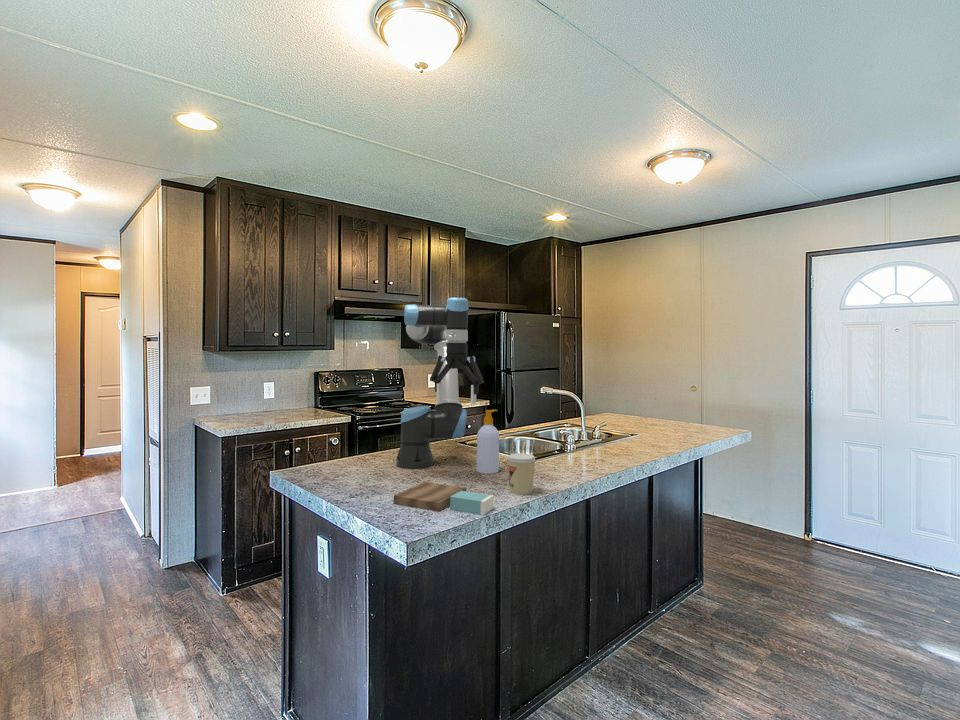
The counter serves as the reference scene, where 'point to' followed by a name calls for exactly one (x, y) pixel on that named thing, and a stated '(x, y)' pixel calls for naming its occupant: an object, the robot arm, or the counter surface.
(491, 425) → the soap bottle
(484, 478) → the counter surface
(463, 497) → the block
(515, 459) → the white-capped cylinder
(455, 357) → the robot arm
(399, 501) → the board
